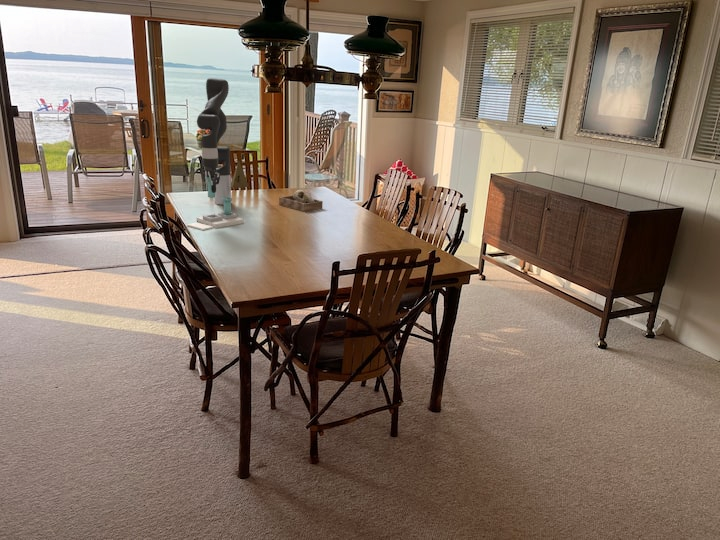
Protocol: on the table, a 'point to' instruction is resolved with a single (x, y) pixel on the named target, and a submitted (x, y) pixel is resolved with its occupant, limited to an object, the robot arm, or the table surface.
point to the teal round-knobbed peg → (210, 194)
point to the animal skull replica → (303, 196)
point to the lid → (199, 226)
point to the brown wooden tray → (300, 204)
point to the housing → (220, 220)
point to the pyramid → (239, 178)
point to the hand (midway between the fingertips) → (211, 191)
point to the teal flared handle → (227, 205)
